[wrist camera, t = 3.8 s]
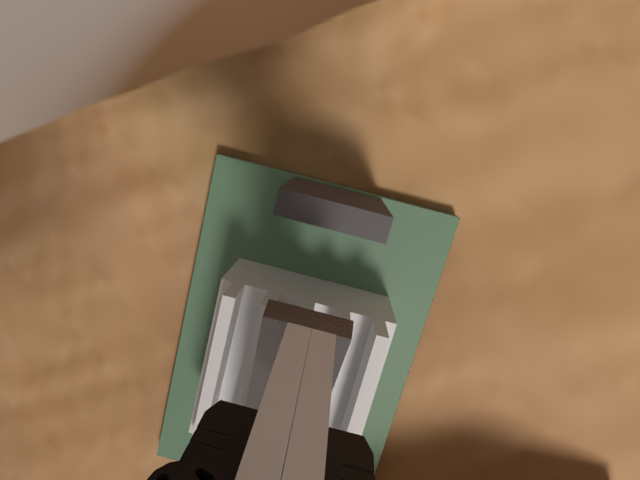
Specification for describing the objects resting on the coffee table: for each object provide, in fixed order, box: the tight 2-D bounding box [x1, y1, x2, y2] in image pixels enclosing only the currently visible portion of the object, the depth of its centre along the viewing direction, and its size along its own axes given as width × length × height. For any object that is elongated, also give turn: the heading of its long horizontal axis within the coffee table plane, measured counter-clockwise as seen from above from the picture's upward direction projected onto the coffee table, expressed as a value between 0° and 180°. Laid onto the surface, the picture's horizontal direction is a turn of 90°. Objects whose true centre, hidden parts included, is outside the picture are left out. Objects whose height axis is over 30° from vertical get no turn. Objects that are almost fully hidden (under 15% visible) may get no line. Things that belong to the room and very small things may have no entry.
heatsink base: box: [157, 154, 460, 475], centre depth 24 cm, size 20×14×8 cm
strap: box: [245, 299, 354, 410], centre depth 18 cm, size 15×4×1 cm, turn 166°
